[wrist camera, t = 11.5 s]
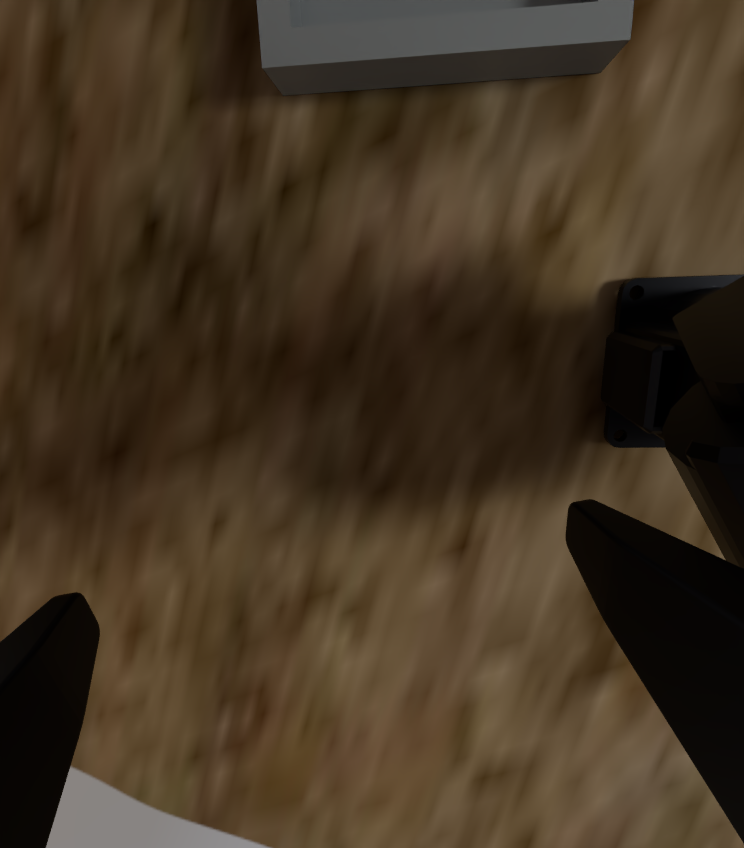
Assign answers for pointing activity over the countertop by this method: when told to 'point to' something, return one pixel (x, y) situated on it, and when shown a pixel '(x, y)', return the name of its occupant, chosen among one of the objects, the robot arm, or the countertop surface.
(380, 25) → the tray
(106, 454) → the countertop surface
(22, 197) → the countertop surface
